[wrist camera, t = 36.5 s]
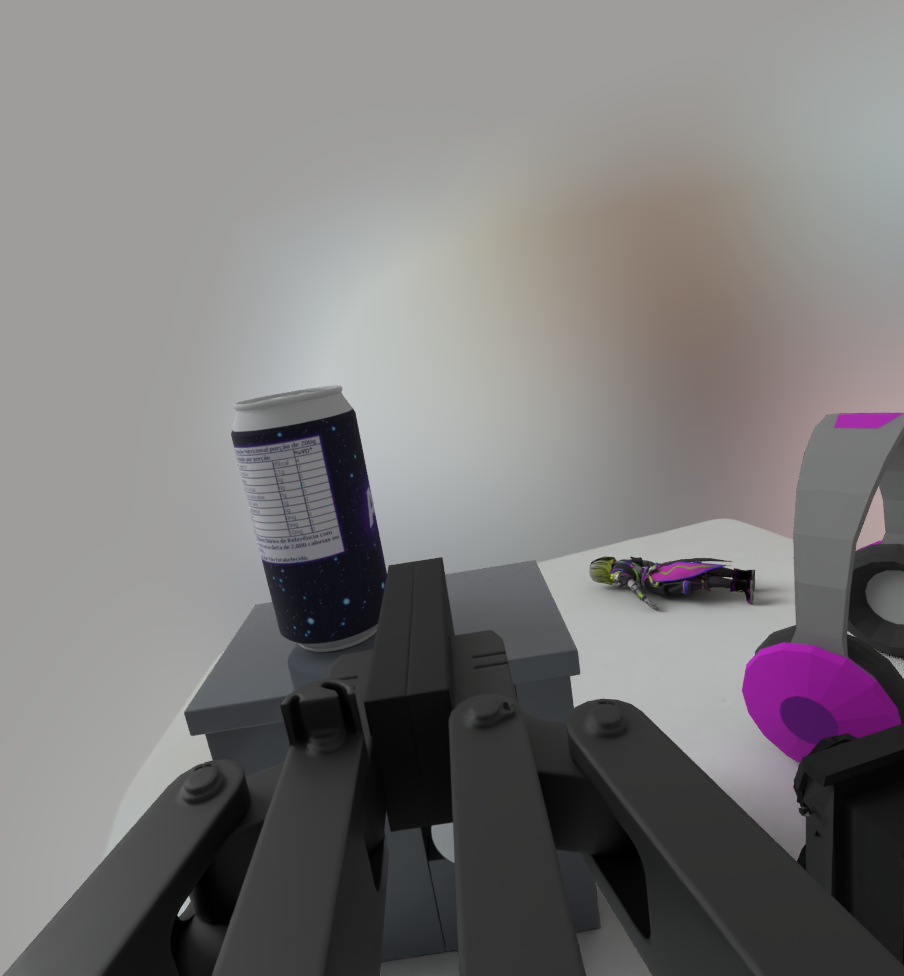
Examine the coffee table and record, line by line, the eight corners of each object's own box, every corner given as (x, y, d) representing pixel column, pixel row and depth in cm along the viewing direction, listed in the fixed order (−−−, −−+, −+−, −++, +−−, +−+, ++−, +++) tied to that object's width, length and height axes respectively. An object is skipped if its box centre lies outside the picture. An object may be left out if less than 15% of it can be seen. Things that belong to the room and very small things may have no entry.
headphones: (898, 819, 33) (907, 458, 28) (734, 753, 40) (718, 451, 35) (977, 650, 46) (992, 383, 41) (843, 621, 52) (843, 388, 48)
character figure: (756, 580, 63) (601, 567, 71) (756, 546, 62) (599, 537, 70) (751, 623, 55) (577, 603, 63) (751, 585, 54) (575, 569, 62)
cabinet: (265, 988, 29) (183, 712, 26) (308, 818, 40) (254, 604, 36) (611, 934, 29) (578, 649, 26) (564, 777, 40) (535, 559, 36)
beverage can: (414, 630, 30) (367, 383, 27) (300, 674, 27) (235, 407, 24) (372, 596, 35) (328, 384, 32) (272, 631, 32) (215, 404, 29)
